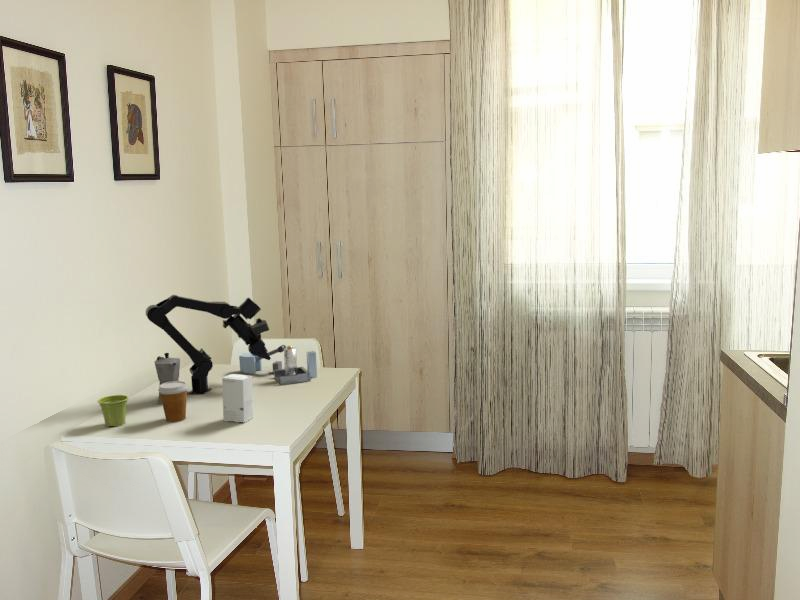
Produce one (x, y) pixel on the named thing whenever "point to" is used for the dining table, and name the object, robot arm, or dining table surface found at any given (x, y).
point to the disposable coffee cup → (174, 400)
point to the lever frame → (254, 364)
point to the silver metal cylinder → (290, 361)
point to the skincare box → (237, 398)
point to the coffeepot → (167, 370)
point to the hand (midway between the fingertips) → (268, 355)
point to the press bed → (299, 372)
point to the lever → (273, 352)
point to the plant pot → (114, 409)
